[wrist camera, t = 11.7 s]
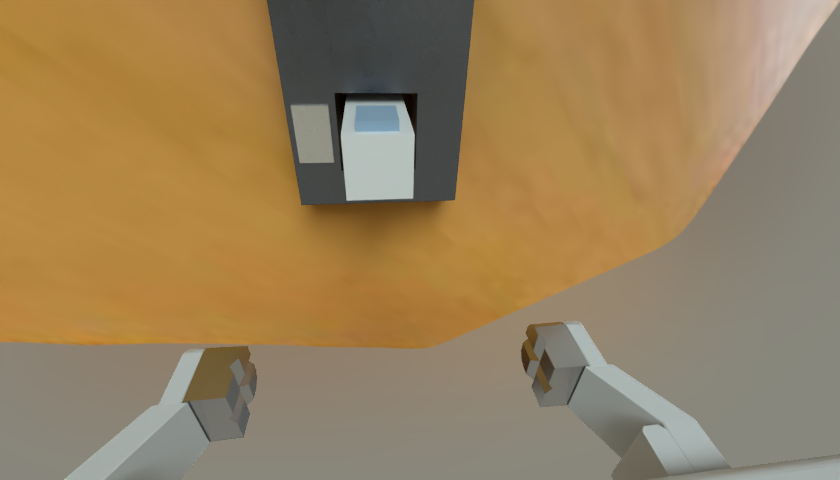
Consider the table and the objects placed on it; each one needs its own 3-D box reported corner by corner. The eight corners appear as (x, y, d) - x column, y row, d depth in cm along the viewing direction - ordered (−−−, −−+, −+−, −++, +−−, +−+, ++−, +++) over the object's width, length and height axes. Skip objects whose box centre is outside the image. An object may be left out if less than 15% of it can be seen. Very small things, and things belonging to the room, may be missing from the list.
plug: (351, 141, 31) (346, 200, 23) (346, 81, 28) (339, 124, 20) (400, 140, 31) (413, 198, 23) (400, 81, 29) (414, 123, 20)
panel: (307, 181, 32) (301, 206, 29) (250, -202, 20) (226, -239, 16) (446, 178, 34) (455, 201, 30) (474, -182, 21) (495, -212, 18)
